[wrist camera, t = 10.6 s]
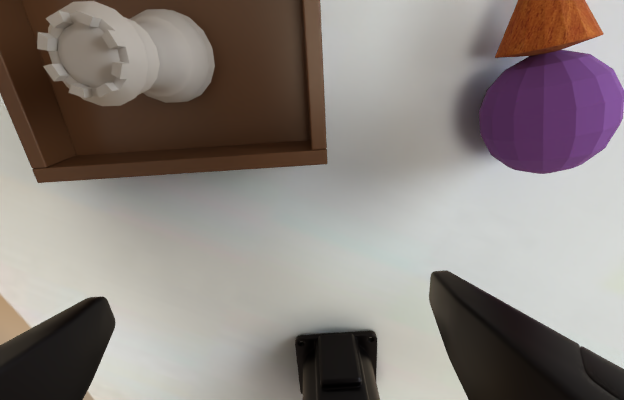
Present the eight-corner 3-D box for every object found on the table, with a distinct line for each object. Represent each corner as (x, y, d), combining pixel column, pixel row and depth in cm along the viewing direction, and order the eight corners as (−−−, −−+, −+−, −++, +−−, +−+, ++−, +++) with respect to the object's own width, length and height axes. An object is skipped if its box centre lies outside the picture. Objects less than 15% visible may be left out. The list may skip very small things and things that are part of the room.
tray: (324, 149, 20) (327, 164, 17) (75, 165, 20) (37, 183, 17) (313, -86, 16) (315, -119, 13) (-9, -64, 16) (-79, -92, 13)
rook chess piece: (196, 116, 19) (125, 153, 11) (120, 72, 18) (-13, 80, 10) (231, 43, 17) (176, 30, 10) (150, -9, 16) (21, -68, 9)
